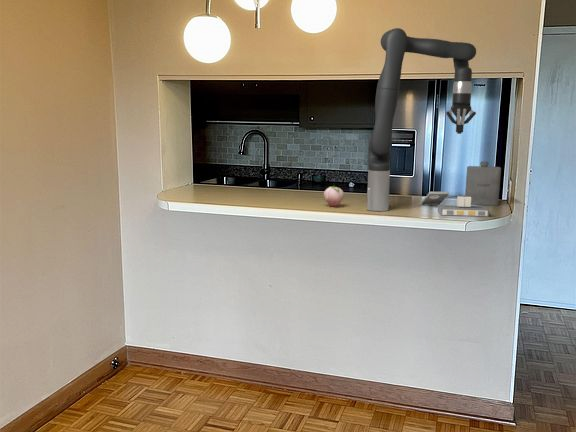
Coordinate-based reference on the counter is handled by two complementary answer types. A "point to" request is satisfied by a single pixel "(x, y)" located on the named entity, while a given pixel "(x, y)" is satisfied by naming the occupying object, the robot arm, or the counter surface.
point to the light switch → (434, 198)
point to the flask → (483, 184)
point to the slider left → (460, 201)
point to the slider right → (467, 201)
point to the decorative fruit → (333, 195)
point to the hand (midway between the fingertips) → (459, 133)
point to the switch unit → (463, 211)
